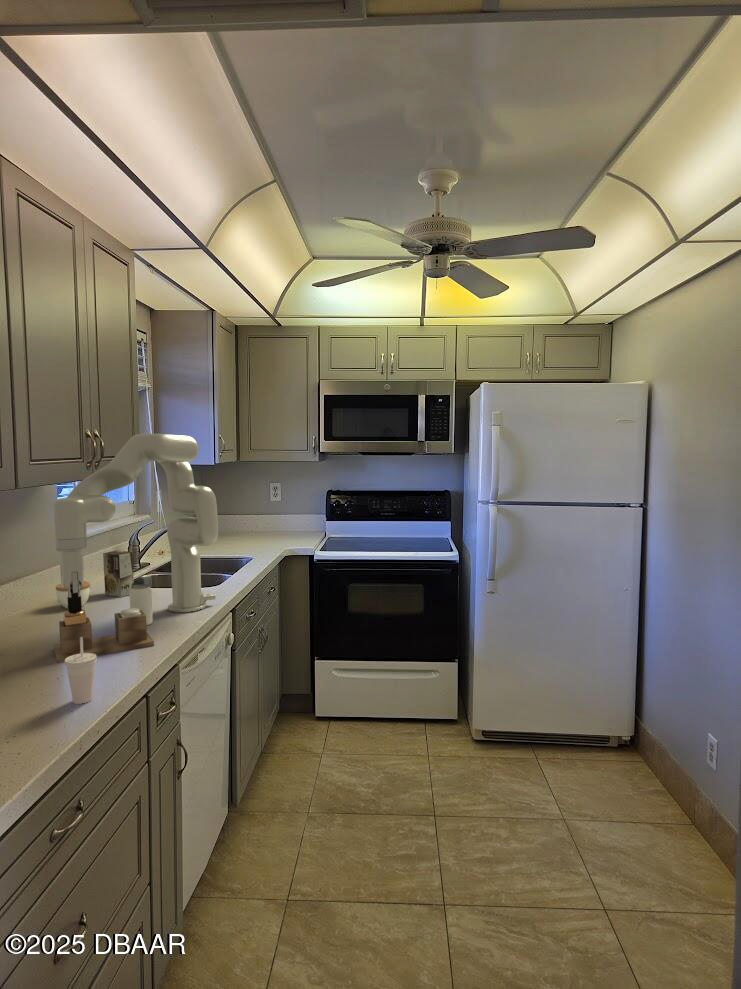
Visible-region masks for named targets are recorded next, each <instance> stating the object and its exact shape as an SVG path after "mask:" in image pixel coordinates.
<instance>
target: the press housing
mask: <svg viewBox="0 0 741 989" xmlns="http://www.w3.org/2000/svg"><path fill="white" fill-rule="evenodd" d="M139 611H140V613H141V616H134V617H128V618H121V617H120V616H119V612H115V613H114V634H113V635H111V634H110V635H107V636H105V635H104V636H101V637H99V636H98V637H93V634H92V633H93V631H92V622H91V621H90V617H88V616H86V624H80V625H73V626H67V627H64V620H59V621H58V624H59V626H58V627H59V643H57V644H53V650H55V651H54V654H55V658H56V662H57V663H62V662H65V659H66V658H67V657H69V656H72V655H75V654H80V637H83V653H93V654H95V655H96V656H102V655H107V654H108V655H109V654H113V653H119V651H120V652H124V651H130V650H135V648H137V649H140V648H141V647H143V648H147V647H146V646H148V647H152V646H151V645H154V646H155V641H154V639H153V638H152V637H151V635H149V634H150V633H148V632H147V627H148V626H146V615H145V614H144V612H143V611H142V610H139ZM141 649H142V648H141Z"/></svg>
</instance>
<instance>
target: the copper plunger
mask: <svg viewBox="0 0 741 989" xmlns="http://www.w3.org/2000/svg"><path fill="white" fill-rule="evenodd" d="M86 617H87V614H86V610H85V609H82V610H81V611H78V612H71V613H69V611H68V610H66V611H65V612H63V621H64V627H67V626H73V625H80V624H86Z"/></svg>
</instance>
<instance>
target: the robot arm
mask: <svg viewBox="0 0 741 989" xmlns="http://www.w3.org/2000/svg"><path fill="white" fill-rule="evenodd" d="M198 454H199V445H198V442H197V440H195V438H194V437H192V436H190V435H180V434H179V435H178V434H169V433H167V434H166V433H138V434H135V435H132V436H131V437H130V438H129V439H128V440H127V442H126V443H125V444H124V445H123V446H122V447H121V449H120V450H119V451H118V452H117V454H116V455H115V456H114V457H113V459H112V460H110V462H109V463H108V464H107V465H105V466H103V467H101V468H100V469H98V470H96V471H94V472H93V473H91V474H90V475H88V476H86V477H85V478H84V479H82V480H81V481H79V482H78V483H77V484H76V485H75V487H74V488H73V489H72V490H71V492H70V493H68V495H67V496H66V497H64V498H63V497H62V498H58V499H56V500H55V501H54V503H53V517H54V518H53V520H54V522H53V523H54V537H55V538H54V540H55V542H54V543H55V551H56V552H58V553H59V563H60V566H59V568H60V584H62V587H63V588H64V589H66V587H68V597H67V600H68V608H67V611H69V613H71V612H78V611H81V610H83V609H82V607H83V606H82V604H81V595H80V586H81V587H82V586H83V584H84V581H85V580H84V576H85V575H84V574H85V573H84V551H85V550H87V549H88V537H87V524H88V523H104V522H107V521H109V520H111V519H112V518H113V517H114V515H115V513H116V504H115V502H114V501H113V499H111V498H110V497H108V496H107V495H106V496H105V494H107V493H109V492H111V491H115V490H118V489H121V488H125V487H127V486H129V485H131V484H133V483H134V482H135V481H136V480H137V478H138V477H139V476H140V475H141V473H142V472H143V470H144V469H145V468H146V466H147V465H148V464H149V463H151V462H157V463H158V464H159V465H160V466H161V467H162V468H163V469H164V472H165V476H166V482H167V483H166V484H167V491H168V493H167V494H168V501H169V507H170V509H171V511H173V512H174V513H177V514H185V515H189V514H190V515H195V516H196V517H195V516H177V517H174V518H172V519H171V520H170V521H169V523H168V524H167V527H166V528H167V529H166V534H167V538H168V543H169V547H170V557H171V558H170V560H171V561H170V562H171V568H170V569H171V590H172V591H171V592H172V594H171V595H172V597H171V598H172V602H171V603H170V604H168V605H167V610H168V611H170V612H173V613H190V612H191V611H193V612H197V610H198V611H200V609H201V610H203V609H205V608H206V607H207V601H212V600H216V594H215V593H213V594H212V593H211V594H210V593H205V594H204V593H203V592H202V578H201V576H202V575H201V574H202V573H201V568H202V567H201V555H200V551H199V549H198V547H197V546H199V547H200V546H201V547H208V546H209V547H210V546H212V545H214V544H215V543H216V542H217V540H218V537H219V516H218V504H217V498H216V495H215V493H214V491H213V490H212V489H211V488H210V487H208V486H206V485H195V480H194V472H193V469H192V468H193V467H191V464H190V463H191V462H192V461H194V460H195V459H196V458H197V457H198ZM191 613H192V612H191Z"/></svg>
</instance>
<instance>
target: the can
mask: <svg viewBox="0 0 741 989" xmlns="http://www.w3.org/2000/svg"><path fill="white" fill-rule="evenodd" d="M152 596H153V594H152V589H151V586H150V584H134V586H132V587H131V590H130V595H129V609H139V610H142V611H143V612H144V614H145V615H146V627H148V626H150V625H152V623H153V621H154V620H153V598H152ZM147 625H148V626H147Z"/></svg>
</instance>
